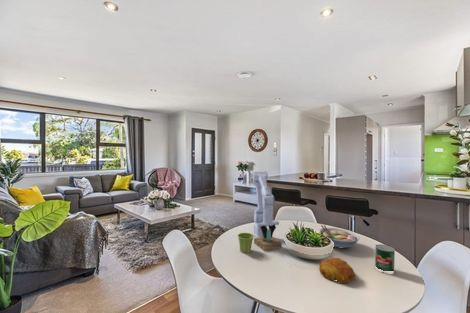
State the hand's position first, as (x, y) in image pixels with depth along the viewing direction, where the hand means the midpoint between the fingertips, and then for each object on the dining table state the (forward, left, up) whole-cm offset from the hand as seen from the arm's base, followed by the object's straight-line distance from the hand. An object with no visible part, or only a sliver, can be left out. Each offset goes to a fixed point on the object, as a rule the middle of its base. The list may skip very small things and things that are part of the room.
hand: (267, 237), depth 137 cm
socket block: (0, 0, -5) cm, 5 cm away
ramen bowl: (+16, +41, -5) cm, 44 cm away
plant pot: (+2, -16, -5) cm, 17 cm away
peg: (0, 0, -3) cm, 3 cm away
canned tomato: (+46, +38, -5) cm, 60 cm away
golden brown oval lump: (+41, +12, -5) cm, 43 cm away
